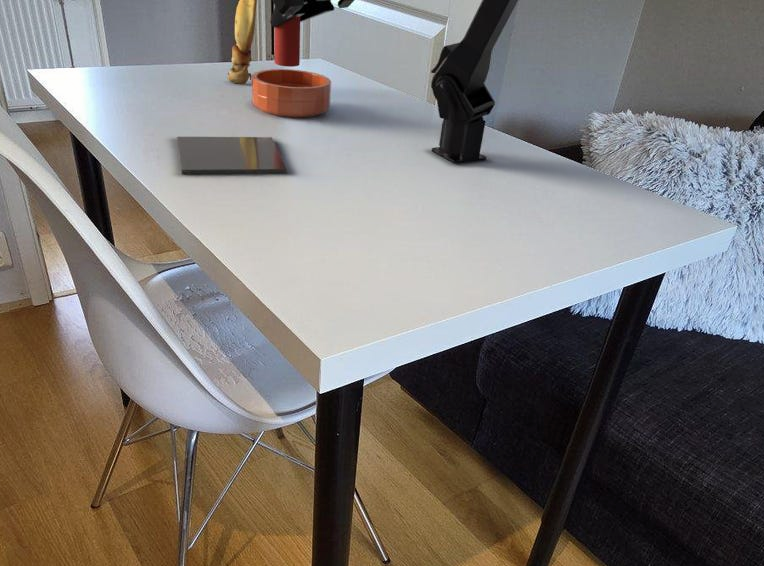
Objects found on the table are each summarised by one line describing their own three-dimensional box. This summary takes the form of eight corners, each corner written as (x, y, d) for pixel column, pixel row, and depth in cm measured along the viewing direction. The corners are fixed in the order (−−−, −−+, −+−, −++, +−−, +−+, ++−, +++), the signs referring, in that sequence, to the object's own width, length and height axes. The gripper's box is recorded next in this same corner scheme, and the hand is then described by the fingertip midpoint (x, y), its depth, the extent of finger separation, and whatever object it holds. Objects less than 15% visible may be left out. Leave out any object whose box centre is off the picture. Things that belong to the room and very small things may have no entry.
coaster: (271, 140, 102) (271, 137, 102) (287, 173, 91) (287, 169, 91) (177, 140, 98) (176, 136, 98) (181, 174, 87) (181, 169, 87)
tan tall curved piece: (261, 88, 127) (260, -31, 116) (234, 89, 125) (230, -33, 114) (251, 79, 132) (249, -36, 121) (225, 79, 130) (221, -38, 119)
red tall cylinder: (303, 66, 113) (305, -21, 105) (281, 67, 111) (282, -22, 103) (292, 60, 116) (293, -25, 108) (270, 61, 113) (269, -26, 106)
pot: (343, 116, 117) (345, 86, 114) (272, 121, 111) (272, 90, 108) (307, 95, 126) (308, 67, 123) (240, 99, 120) (239, 70, 117)
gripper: (344, -92, 105) (288, -22, 116) (269, -98, 92) (213, -19, 102) (382, -28, 107) (323, 35, 117) (313, -25, 93) (254, 46, 104)
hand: (280, 23), depth 110 cm, fingers closed on red tall cylinder, 4 cm apart
